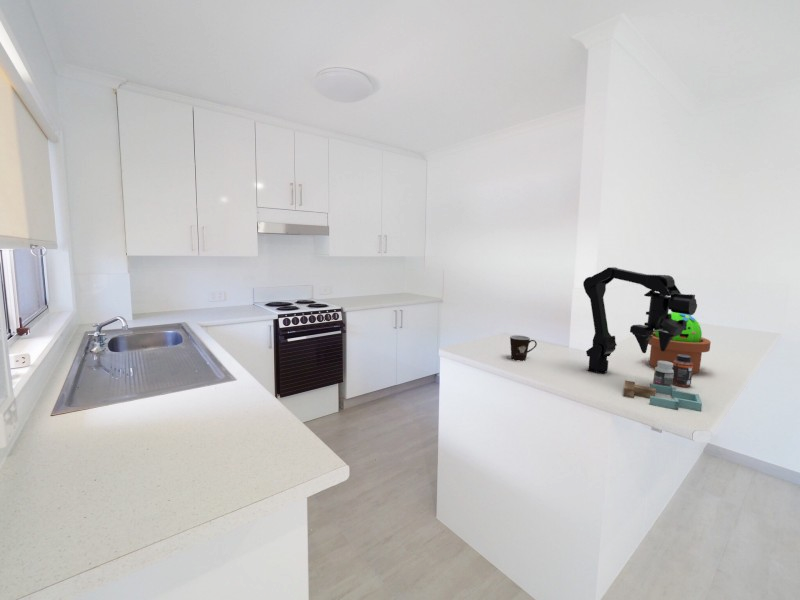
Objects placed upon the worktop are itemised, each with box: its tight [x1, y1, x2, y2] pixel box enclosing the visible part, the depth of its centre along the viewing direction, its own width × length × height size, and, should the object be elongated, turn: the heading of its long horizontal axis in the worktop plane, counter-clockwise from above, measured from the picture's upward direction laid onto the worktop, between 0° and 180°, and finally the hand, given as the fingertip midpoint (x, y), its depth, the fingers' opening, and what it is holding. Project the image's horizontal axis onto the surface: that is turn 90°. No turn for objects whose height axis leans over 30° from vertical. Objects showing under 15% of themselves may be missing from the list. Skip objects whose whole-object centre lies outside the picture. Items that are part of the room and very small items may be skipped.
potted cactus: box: [648, 310, 711, 375], centre depth 158 cm, size 22×22×25 cm
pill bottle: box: [652, 361, 674, 387], centre depth 134 cm, size 6×6×10 cm
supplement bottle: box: [672, 354, 693, 388], centre depth 138 cm, size 6×6×11 cm
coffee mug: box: [509, 334, 538, 362], centre depth 169 cm, size 12×9×10 cm
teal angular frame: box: [648, 382, 703, 412], centre depth 123 cm, size 14×15×2 cm
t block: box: [622, 379, 657, 399], centre depth 129 cm, size 9×9×3 cm
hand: (653, 352), depth 135 cm, fingers open, 9 cm apart
